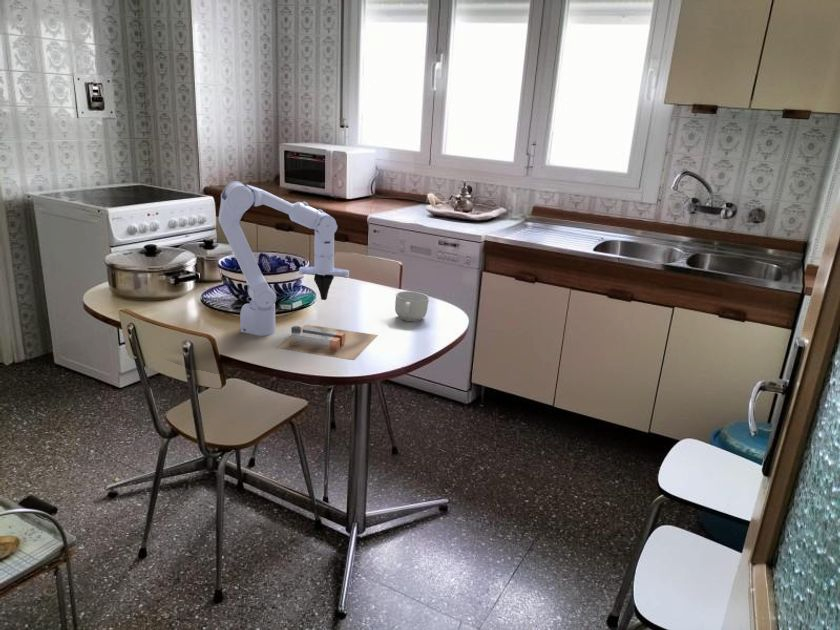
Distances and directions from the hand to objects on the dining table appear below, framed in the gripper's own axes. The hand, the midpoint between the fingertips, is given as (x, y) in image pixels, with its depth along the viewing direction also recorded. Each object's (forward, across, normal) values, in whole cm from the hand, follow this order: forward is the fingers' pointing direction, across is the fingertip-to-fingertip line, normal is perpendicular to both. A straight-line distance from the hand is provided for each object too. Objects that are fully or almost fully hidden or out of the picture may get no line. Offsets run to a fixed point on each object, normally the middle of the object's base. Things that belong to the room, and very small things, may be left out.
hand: (324, 298), depth 184 cm
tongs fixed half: (+8, +1, -16) cm, 18 cm away
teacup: (+10, +25, +14) cm, 30 cm away
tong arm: (+8, +3, -14) cm, 16 cm away
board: (+9, +4, -13) cm, 17 cm away
